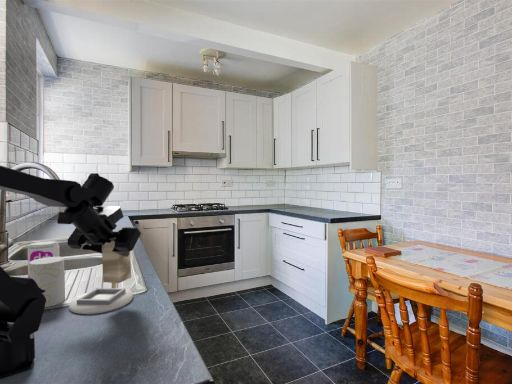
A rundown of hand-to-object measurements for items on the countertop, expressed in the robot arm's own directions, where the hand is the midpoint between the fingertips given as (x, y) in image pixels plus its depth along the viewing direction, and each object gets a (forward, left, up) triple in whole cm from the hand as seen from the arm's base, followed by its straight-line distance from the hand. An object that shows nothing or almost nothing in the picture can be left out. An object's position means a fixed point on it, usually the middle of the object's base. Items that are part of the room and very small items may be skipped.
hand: (119, 254), depth 82 cm
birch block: (-1, -1, -7) cm, 7 cm away
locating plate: (-4, +4, -14) cm, 15 cm away
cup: (-16, +14, -14) cm, 25 cm away
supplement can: (-16, +27, -14) cm, 34 cm away
